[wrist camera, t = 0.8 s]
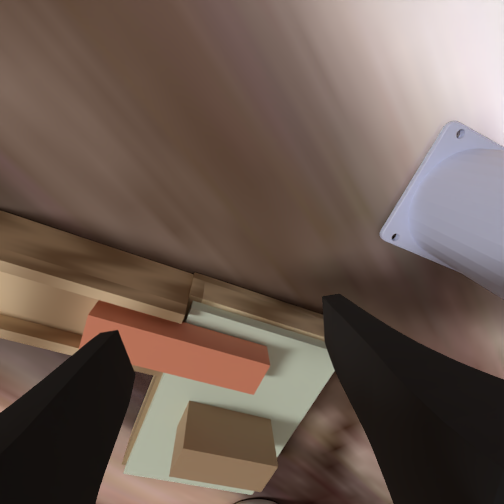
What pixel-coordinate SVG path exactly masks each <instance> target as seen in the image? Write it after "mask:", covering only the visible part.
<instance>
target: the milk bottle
mask: <svg viewBox="0 0 504 504" xmlns="http://www.w3.org/2000/svg"><path fill="white" fill-rule="evenodd" d="M236 504H277V503H275V502H273V501H269V500H263V499H252V500H245V501H241V502H238V503H236Z"/></svg>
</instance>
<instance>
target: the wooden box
mask: <svg viewBox="0 0 504 504" xmlns="http://www.w3.org/2000/svg"><path fill="white" fill-rule="evenodd" d="M193 301H196V302H200V303H203V304H206V305H209V306H212V307H216V308H219V309H222V310H225V311H229V312H232V313H235V314H238V315H241V316H245V317H248V318H251V319H254V320H257V321H261V322H264V323H267V324H270V325H273V326H277V327H280V328H283V329H286V330H290V331H293V332H296V333H299V334H302V335H306V336H309V337H312V338H315V339H318V340H322V341H325V339H324V321H323V315H322V314H319V313H316V312H313V311H310V310H307V309H304V308H301V307H298V306H295V305H292V304H289V303H286V302H283V301H280V300H277V299H274V298H271V297H268V296H265V295H262V294H259V293H256V292H253V291H250V290H247V289H244V288H241V287H238V286H235V285H232V284H229V283H226V282H223V281H220V280H217V279H214V278H211V277H208V276H205V275H202V274H199V273H196V272H194V275H193V280H192V284H191V289H190V294H189V298H188V303H187V308H186V312H185V316H184V319H183V321H182V322H184V321H185V319H186V316H187V314H188V311H189V309H190V306H191V304H192V302H193ZM162 375H163V372H162V373H161V375H160V377H158V376H153V378H152V381H151V383H150V386H149V389H148V391H147V394H146V396H145V399H144V401H143V404H142V406H141V409H140V411H139V414H138V416H137V419H136V421H135V424H134V426H133V429H132V433H131V436H130V439H129V442H128V446H127V449H126V452H125V455H124V459H123V462H122V464H124V465H126V463H127V461H128V458H129V456H130V453H131V451H132V448H133V446H134V443H135V441H136V439H137V436H138V434H139V431H140V429H141V426H142V424H143V421H144V419H145V417H146V414H147V412H148V409H149V407H150V404H151V402H152V399H153V397H154V394H155V392H156V390H157V387H158V385H159V382H160V380H161V377H162Z"/></svg>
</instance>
